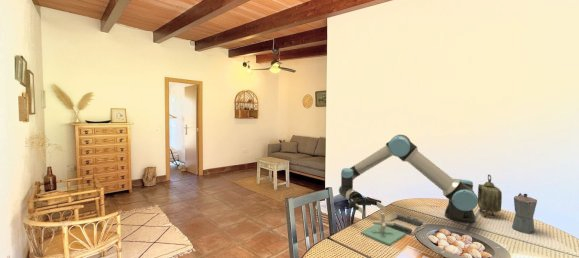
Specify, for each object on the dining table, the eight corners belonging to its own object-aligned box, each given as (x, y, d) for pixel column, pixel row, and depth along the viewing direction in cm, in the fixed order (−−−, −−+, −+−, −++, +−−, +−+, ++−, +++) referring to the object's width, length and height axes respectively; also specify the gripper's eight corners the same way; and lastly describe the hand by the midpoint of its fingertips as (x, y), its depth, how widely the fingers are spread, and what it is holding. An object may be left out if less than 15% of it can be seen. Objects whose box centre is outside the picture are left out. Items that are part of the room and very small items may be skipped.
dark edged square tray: (398, 216, 157) (399, 212, 157) (427, 225, 144) (427, 221, 144) (382, 225, 145) (382, 220, 145) (412, 235, 132) (412, 231, 132)
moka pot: (518, 234, 133) (520, 196, 132) (505, 222, 147) (506, 188, 146) (541, 237, 130) (544, 198, 128) (526, 224, 144) (528, 189, 143)
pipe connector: (395, 238, 128) (395, 218, 127) (373, 236, 130) (373, 216, 129) (391, 228, 137) (391, 210, 137) (372, 227, 140) (372, 209, 139)
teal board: (377, 225, 145) (377, 223, 145) (405, 235, 133) (405, 233, 133) (360, 234, 135) (360, 231, 135) (389, 246, 122) (389, 243, 122)
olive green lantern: (477, 209, 166) (478, 171, 165) (494, 212, 162) (496, 172, 161) (481, 218, 154) (483, 176, 152) (501, 220, 149) (503, 178, 148)
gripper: (371, 201, 166) (392, 213, 145) (335, 204, 159) (352, 218, 139) (371, 189, 165) (393, 200, 145) (335, 192, 159) (352, 205, 138)
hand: (373, 209), depth 142 cm, fingers open, 13 cm apart
